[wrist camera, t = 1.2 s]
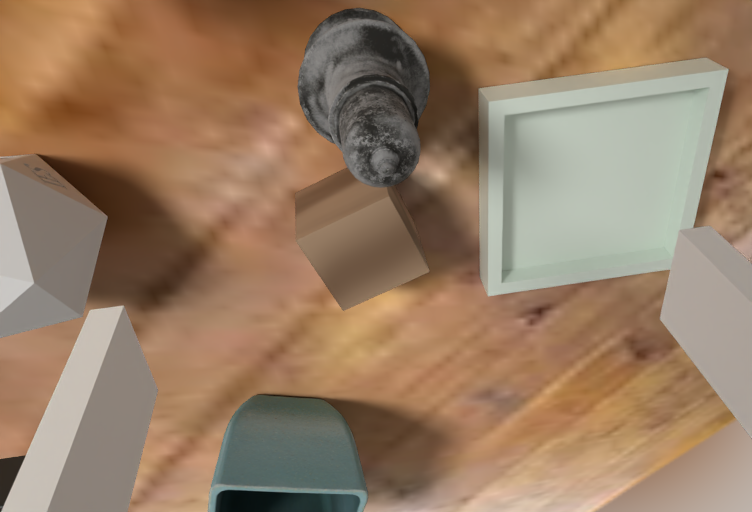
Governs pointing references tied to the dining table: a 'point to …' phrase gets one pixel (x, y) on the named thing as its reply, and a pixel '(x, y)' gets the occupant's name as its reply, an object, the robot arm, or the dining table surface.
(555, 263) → the coaster tray
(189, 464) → the dining table surface
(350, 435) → the flower pot
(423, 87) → the dark grey tall piece
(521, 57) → the dining table surface
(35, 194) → the die
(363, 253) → the walnut block
